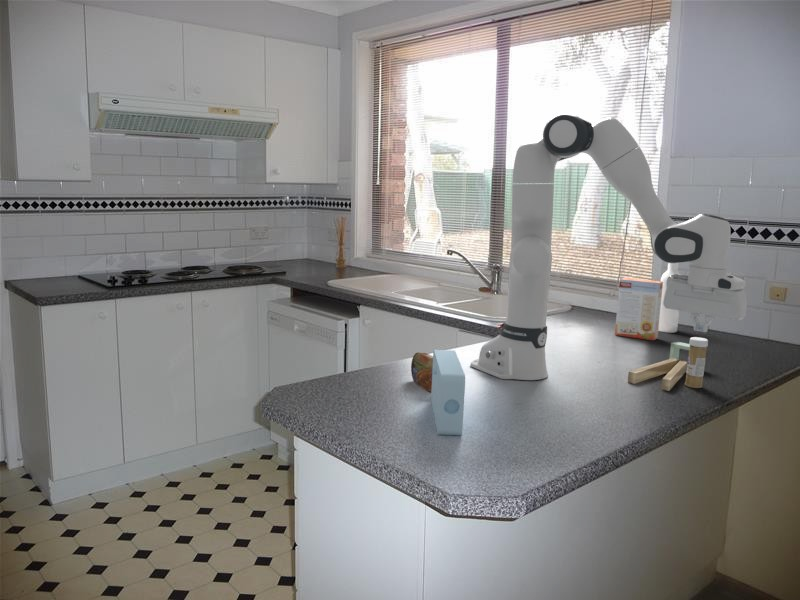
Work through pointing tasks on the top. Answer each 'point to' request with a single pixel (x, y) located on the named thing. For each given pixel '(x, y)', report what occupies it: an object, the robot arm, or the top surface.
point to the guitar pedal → (447, 392)
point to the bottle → (667, 316)
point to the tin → (422, 370)
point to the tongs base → (652, 370)
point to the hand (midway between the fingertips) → (700, 331)
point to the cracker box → (638, 308)
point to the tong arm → (674, 375)
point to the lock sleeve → (677, 349)
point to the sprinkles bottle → (696, 362)
